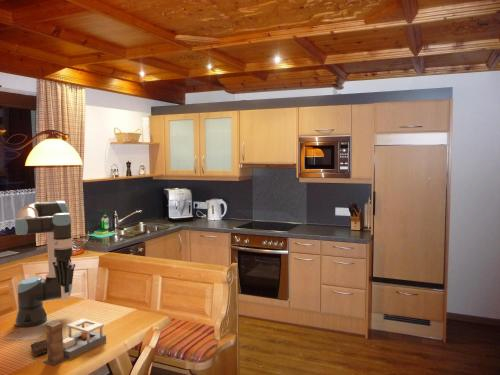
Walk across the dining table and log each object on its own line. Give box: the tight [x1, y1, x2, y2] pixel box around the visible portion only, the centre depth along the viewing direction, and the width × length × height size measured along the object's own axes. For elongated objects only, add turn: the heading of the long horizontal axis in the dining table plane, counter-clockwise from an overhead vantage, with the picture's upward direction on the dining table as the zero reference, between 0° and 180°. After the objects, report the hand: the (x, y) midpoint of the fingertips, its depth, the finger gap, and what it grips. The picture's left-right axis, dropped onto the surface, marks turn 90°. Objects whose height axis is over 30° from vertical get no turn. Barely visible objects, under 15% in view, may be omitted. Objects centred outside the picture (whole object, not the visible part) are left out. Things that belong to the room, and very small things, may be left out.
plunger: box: [80, 331, 90, 341], centre depth 198 cm, size 4×4×4 cm
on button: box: [63, 336, 75, 349], centre depth 189 cm, size 4×5×3 cm
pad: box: [43, 356, 69, 367], centre depth 181 cm, size 7×7×1 cm
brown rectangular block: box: [45, 320, 64, 363], centre depth 180 cm, size 4×4×16 cm
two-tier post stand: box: [63, 318, 107, 359], centre depth 194 cm, size 15×20×9 cm
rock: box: [30, 338, 47, 358], centre depth 191 cm, size 11×10×4 cm
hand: (65, 299), depth 188 cm, fingers closed
